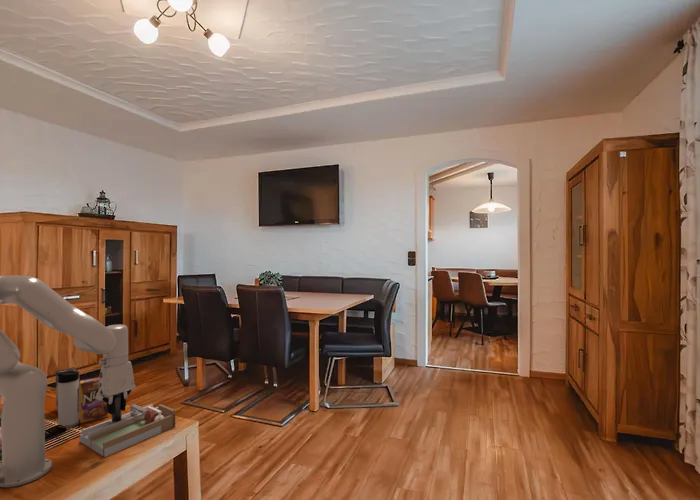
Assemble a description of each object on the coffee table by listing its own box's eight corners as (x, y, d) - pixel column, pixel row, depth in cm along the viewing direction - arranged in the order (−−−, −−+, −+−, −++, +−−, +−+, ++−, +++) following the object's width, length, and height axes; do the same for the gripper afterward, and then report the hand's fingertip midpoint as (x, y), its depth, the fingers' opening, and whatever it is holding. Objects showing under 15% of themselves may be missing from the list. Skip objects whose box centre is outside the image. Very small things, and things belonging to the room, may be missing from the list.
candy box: (80, 424, 141) (79, 383, 141) (79, 419, 144) (79, 379, 144) (108, 417, 146) (108, 378, 146) (107, 413, 150) (107, 375, 149)
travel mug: (53, 426, 139) (53, 372, 138) (74, 419, 145) (73, 367, 144) (62, 430, 136) (61, 375, 135) (82, 423, 142) (82, 370, 141)
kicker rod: (125, 435, 127) (125, 403, 127) (108, 426, 134) (108, 395, 133) (154, 423, 136) (154, 393, 135) (137, 415, 142) (137, 386, 142)
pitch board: (104, 457, 119) (104, 435, 119) (80, 441, 128) (79, 421, 128) (175, 426, 139) (175, 407, 139) (150, 414, 149) (149, 397, 148)
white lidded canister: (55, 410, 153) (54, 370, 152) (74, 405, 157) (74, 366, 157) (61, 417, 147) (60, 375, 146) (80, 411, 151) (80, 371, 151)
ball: (166, 414, 140) (167, 423, 140) (161, 412, 142) (161, 421, 142) (157, 419, 137) (158, 428, 137) (151, 416, 139) (152, 425, 139)
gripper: (95, 368, 125) (96, 423, 125) (144, 356, 139) (145, 405, 139) (84, 364, 129) (85, 418, 130) (133, 352, 143) (134, 401, 143)
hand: (116, 411), depth 134 cm, fingers closed on kicker rod, 3 cm apart
